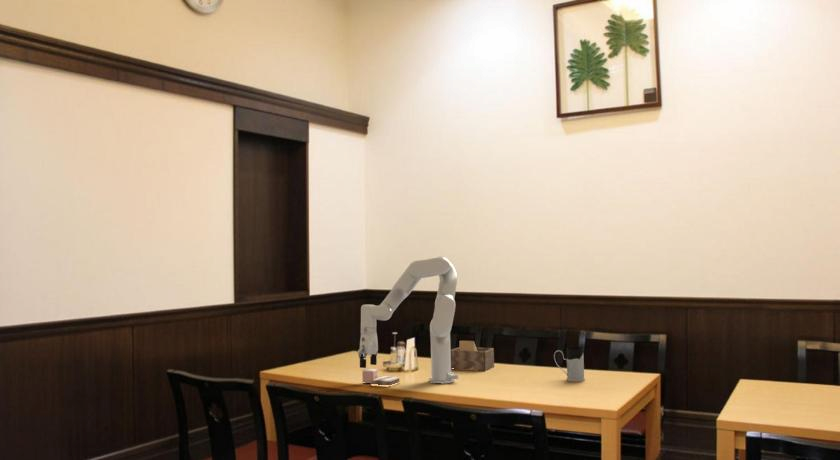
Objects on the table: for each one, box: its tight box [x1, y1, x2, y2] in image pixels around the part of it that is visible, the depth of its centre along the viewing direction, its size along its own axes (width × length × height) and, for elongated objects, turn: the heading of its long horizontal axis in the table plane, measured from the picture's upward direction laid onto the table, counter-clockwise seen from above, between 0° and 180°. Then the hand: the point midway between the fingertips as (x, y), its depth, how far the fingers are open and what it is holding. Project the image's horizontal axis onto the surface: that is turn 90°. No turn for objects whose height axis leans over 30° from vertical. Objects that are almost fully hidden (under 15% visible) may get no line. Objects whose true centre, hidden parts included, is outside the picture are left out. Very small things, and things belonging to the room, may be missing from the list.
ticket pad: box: [370, 375, 401, 385], centre depth 316 cm, size 10×10×3 cm
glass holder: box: [553, 346, 586, 382], centre depth 319 cm, size 9×14×15 cm, turn 78°
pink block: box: [361, 368, 379, 383], centre depth 320 cm, size 6×4×6 cm, turn 64°
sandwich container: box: [458, 340, 478, 371], centre depth 358 cm, size 9×15×15 cm, turn 152°
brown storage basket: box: [451, 347, 495, 372], centre depth 357 cm, size 20×14×10 cm
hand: (368, 366), depth 320 cm, fingers open, 9 cm apart
